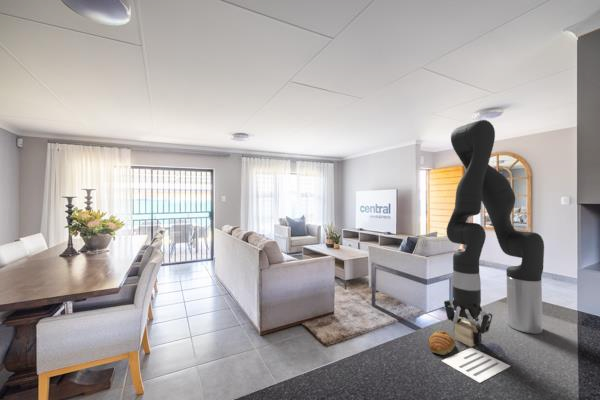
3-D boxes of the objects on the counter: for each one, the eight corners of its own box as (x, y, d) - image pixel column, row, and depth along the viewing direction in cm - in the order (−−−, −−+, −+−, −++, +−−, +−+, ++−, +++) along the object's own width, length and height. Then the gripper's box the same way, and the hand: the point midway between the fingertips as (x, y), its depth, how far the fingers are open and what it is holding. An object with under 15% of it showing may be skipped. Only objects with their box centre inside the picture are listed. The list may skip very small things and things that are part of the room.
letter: (471, 347, 78) (471, 347, 78) (510, 366, 69) (510, 365, 69) (441, 360, 72) (441, 360, 72) (479, 383, 63) (479, 382, 63)
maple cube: (464, 335, 86) (463, 320, 86) (480, 342, 81) (480, 326, 81) (454, 339, 83) (454, 323, 83) (470, 347, 79) (470, 330, 79)
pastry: (450, 360, 73) (450, 346, 73) (424, 352, 77) (424, 339, 77) (456, 345, 80) (455, 333, 80) (432, 339, 84) (431, 327, 84)
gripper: (498, 290, 78) (499, 347, 78) (451, 278, 91) (452, 327, 90) (483, 294, 74) (485, 354, 74) (437, 281, 87) (438, 332, 87)
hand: (467, 339), depth 82 cm, fingers closed on maple cube, 5 cm apart
